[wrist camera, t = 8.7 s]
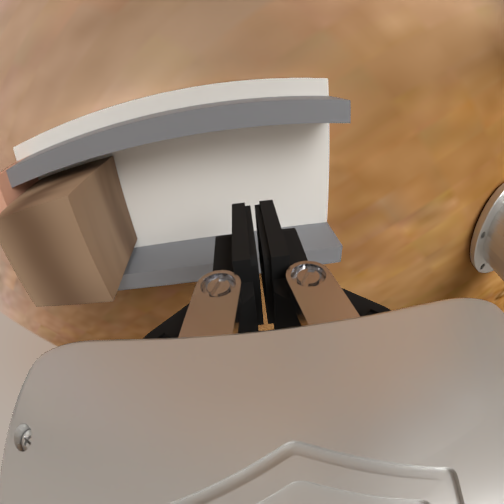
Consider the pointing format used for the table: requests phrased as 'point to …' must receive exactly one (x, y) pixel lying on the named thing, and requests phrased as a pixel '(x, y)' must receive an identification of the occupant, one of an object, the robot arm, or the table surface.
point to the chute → (201, 168)
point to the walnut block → (70, 235)
